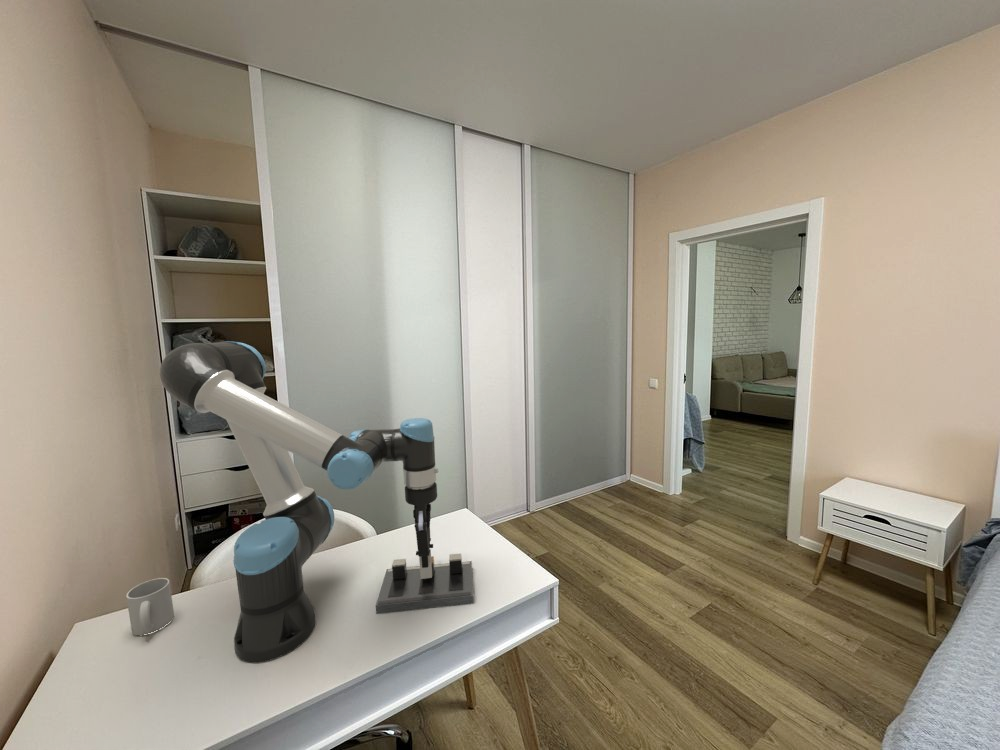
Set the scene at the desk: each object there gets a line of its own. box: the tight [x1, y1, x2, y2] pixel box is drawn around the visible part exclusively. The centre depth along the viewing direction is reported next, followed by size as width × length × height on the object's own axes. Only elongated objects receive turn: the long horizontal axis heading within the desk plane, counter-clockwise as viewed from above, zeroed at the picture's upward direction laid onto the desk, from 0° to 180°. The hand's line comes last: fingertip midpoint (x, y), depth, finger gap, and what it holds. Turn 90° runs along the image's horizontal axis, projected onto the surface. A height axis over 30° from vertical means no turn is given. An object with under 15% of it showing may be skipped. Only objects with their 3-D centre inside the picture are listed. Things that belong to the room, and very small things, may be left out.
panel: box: [375, 553, 475, 615], centre depth 98 cm, size 22×14×6 cm, turn 96°
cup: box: [125, 577, 175, 636], centre depth 88 cm, size 7×10×9 cm
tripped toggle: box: [431, 555, 435, 576], centre depth 100 cm, size 3×2×4 cm
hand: (426, 576), depth 98 cm, fingers closed
